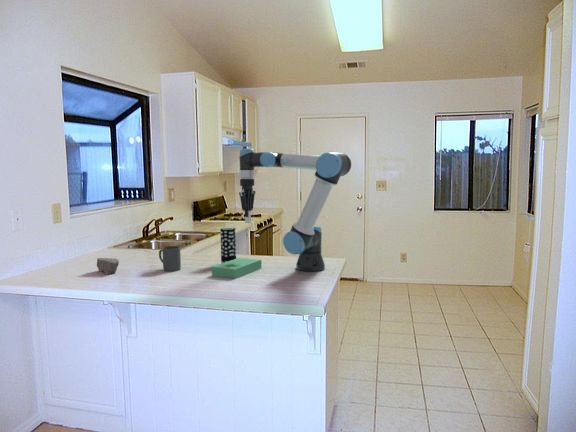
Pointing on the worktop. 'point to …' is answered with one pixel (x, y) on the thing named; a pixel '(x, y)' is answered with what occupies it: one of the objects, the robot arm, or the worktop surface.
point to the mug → (171, 258)
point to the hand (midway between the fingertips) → (247, 222)
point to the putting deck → (236, 267)
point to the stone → (107, 265)
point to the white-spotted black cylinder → (228, 244)
